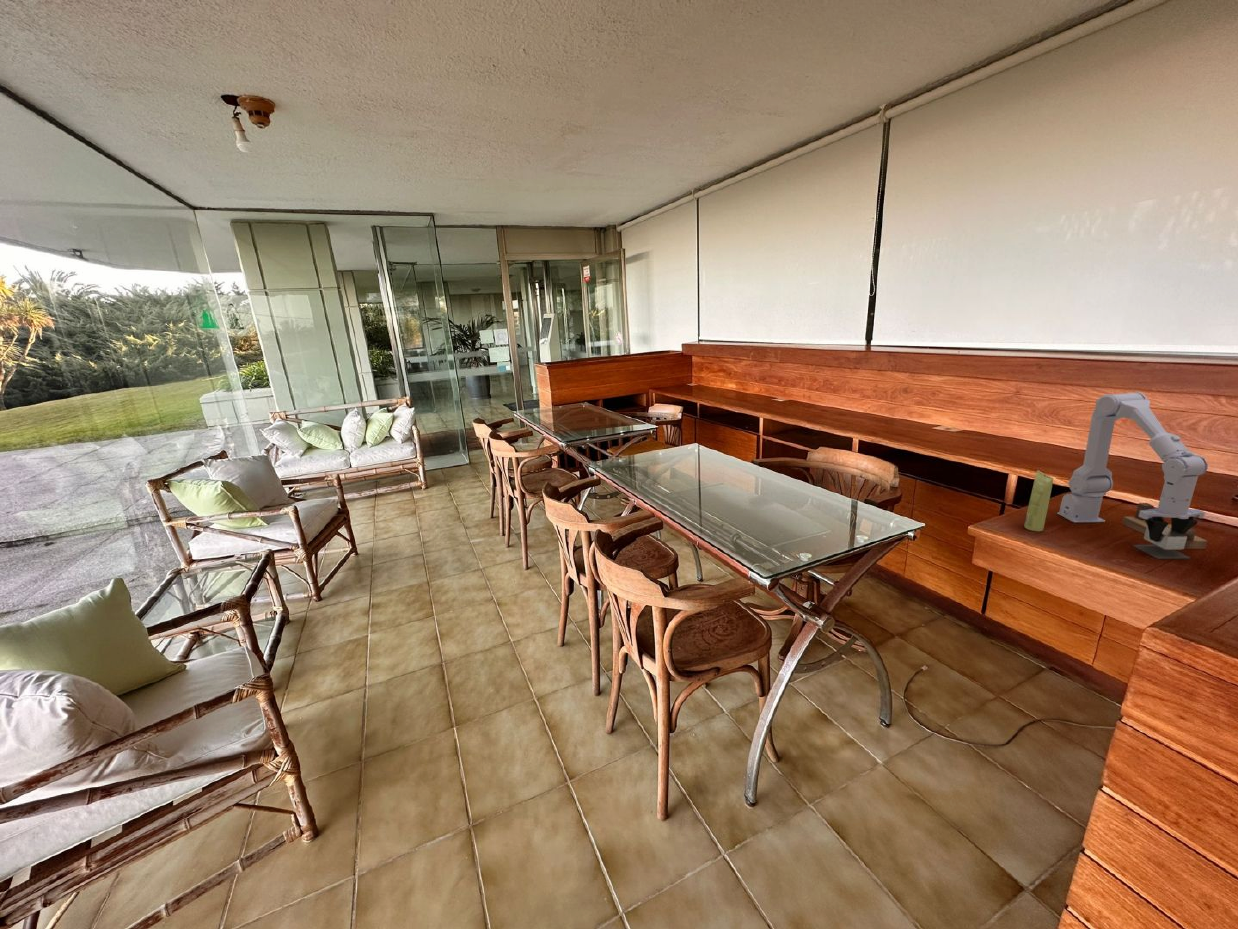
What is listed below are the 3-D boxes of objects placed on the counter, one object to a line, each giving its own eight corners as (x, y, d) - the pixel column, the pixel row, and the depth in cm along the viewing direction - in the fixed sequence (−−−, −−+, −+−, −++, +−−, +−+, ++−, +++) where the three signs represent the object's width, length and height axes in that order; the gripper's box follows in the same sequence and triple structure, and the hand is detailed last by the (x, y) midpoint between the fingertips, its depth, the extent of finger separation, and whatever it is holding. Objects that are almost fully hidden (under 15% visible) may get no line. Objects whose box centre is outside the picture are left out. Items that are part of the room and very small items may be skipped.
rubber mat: (1157, 559, 138) (1157, 557, 138) (1133, 546, 146) (1133, 545, 146) (1189, 558, 137) (1190, 557, 137) (1163, 545, 145) (1163, 544, 144)
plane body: (1173, 549, 143) (1180, 525, 140) (1121, 523, 160) (1127, 502, 157) (1205, 548, 141) (1212, 525, 139) (1149, 523, 158) (1155, 502, 156)
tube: (1048, 529, 160) (1059, 473, 154) (1042, 533, 157) (1053, 477, 152) (1027, 524, 164) (1037, 470, 159) (1021, 528, 162) (1031, 473, 156)
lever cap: (1165, 549, 138) (1168, 536, 136) (1143, 538, 144) (1146, 526, 143) (1183, 549, 137) (1187, 536, 136) (1161, 538, 143) (1164, 526, 142)
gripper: (1159, 502, 134) (1147, 546, 138) (1220, 501, 131) (1207, 546, 135) (1137, 493, 140) (1126, 536, 144) (1195, 492, 138) (1182, 535, 142)
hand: (1163, 540), depth 140 cm, fingers closed on lever cap, 4 cm apart
